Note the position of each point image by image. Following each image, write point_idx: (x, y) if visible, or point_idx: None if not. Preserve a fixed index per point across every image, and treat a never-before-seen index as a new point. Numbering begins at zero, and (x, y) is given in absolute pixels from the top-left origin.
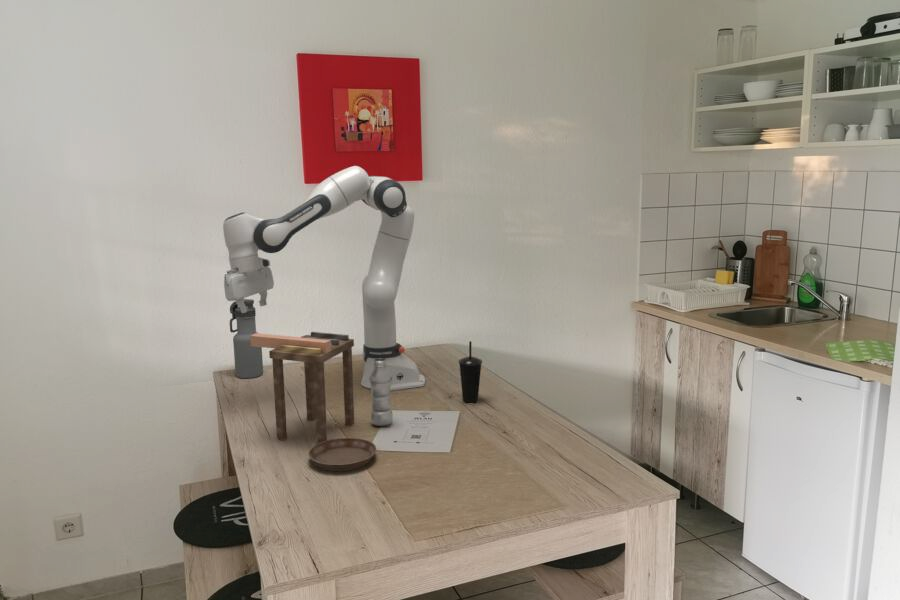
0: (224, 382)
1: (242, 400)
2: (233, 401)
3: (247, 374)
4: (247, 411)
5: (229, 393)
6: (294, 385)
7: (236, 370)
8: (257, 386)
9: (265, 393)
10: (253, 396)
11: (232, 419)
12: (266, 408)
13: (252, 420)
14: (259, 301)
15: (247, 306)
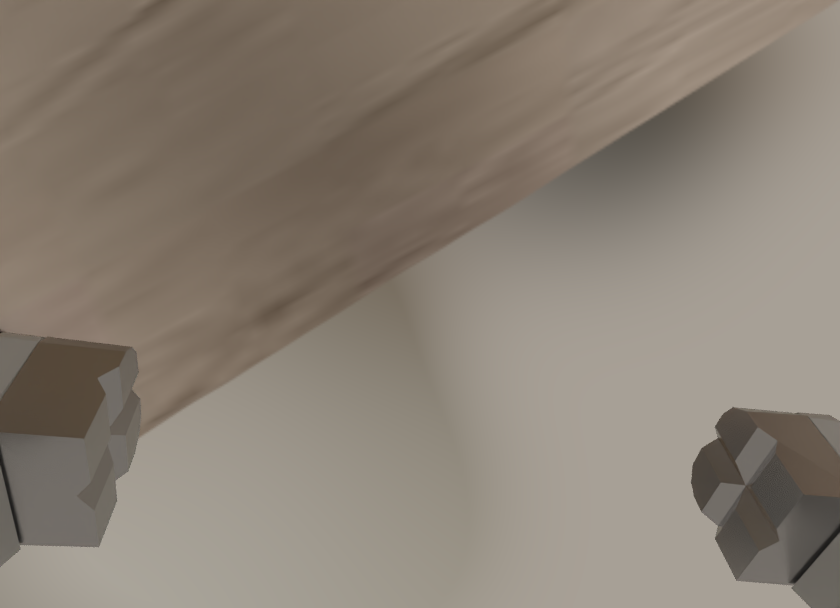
0: None
1: (352, 215)
2: (376, 252)
3: None
4: (505, 106)
5: (271, 328)
6: (9, 30)
7: None
8: (120, 247)
9: (213, 146)
10: (279, 189)
11: (623, 127)
12: (445, 18)
13: (633, 9)
14: (102, 523)
15: (813, 489)
